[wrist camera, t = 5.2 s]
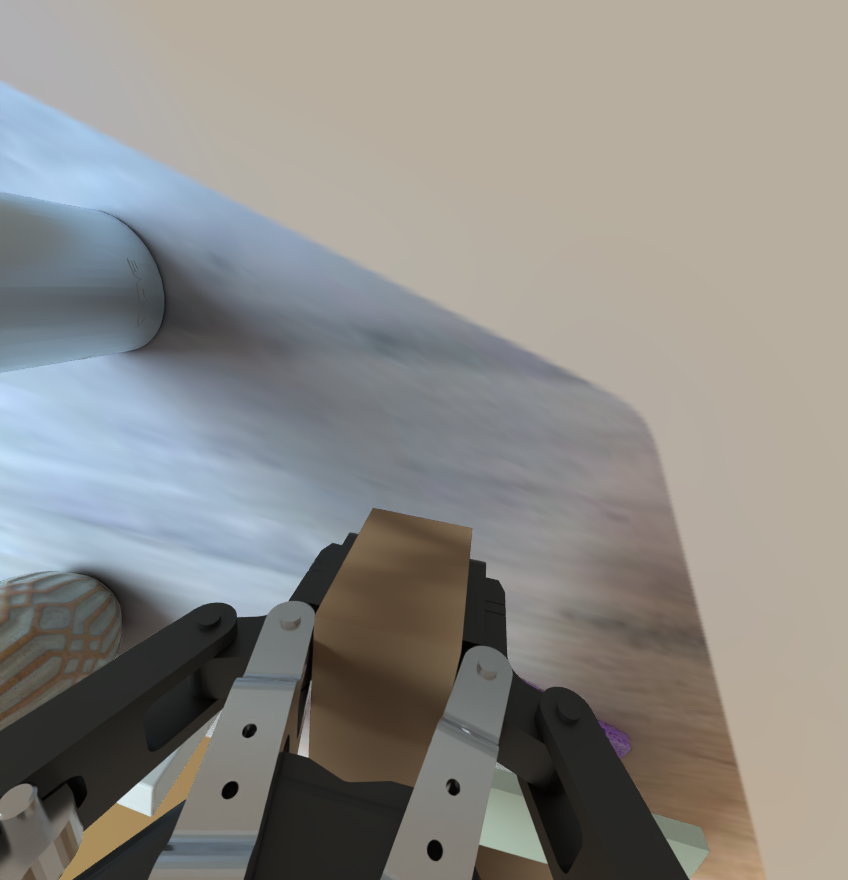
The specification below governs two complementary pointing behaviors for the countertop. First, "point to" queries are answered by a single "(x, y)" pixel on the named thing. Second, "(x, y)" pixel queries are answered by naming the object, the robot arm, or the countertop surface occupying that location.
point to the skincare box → (163, 776)
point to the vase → (52, 637)
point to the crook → (394, 659)
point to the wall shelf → (517, 835)
